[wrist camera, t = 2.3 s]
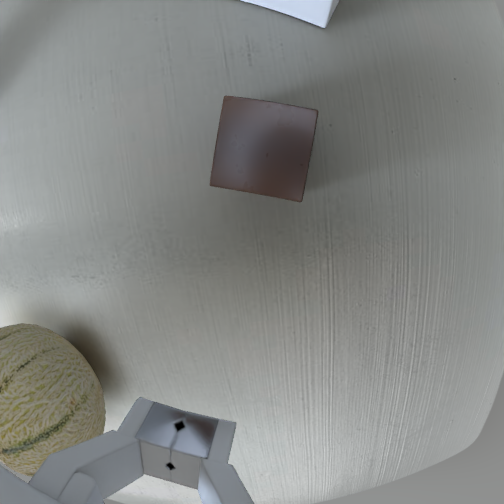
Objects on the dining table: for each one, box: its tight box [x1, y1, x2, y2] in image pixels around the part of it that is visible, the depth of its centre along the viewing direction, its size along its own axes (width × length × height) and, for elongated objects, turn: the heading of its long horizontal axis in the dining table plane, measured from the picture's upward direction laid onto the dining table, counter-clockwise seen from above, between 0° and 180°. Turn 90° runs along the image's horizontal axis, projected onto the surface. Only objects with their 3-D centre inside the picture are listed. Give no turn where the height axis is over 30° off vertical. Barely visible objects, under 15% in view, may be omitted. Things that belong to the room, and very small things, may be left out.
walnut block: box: [210, 96, 318, 202], centre depth 18 cm, size 5×5×5 cm
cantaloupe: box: [0, 323, 106, 477], centre depth 22 cm, size 15×15×15 cm
